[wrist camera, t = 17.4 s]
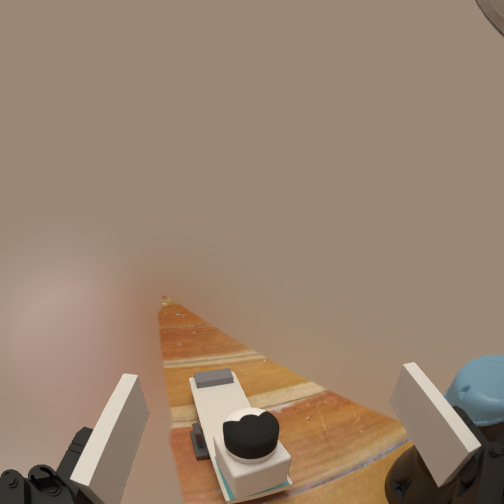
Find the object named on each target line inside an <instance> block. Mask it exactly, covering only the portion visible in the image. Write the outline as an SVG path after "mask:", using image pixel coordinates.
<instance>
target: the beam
mask: <svg viewBox="0 0 504 504" xmlns="http://www.w3.org/2000/svg"><path fill="white" fill-rule="evenodd" d="M189 380H190V386H191V390H192V394H193V398H194V402H195V406H196V410H197V413H198V417H199V421H200V424H201V428H202V431H203V435H204V438H205V442H206V445H207V448H208V451H209V455H210V458H211V461H212V464H213V467H214V470H215V473H216V476H217V479H218V482H219V485H220V488H221V490H222V493H223V496H224V498H225V501H226V504H234V503H239V502H243V501H248V500H252V499H256V498H259V497H263V496H267V495H270V494H274V493H277V492H280V491H283V490H287V489H290V488H292V485H293V483H292V481H291V479H290V478H289V476H288V475H287V480H286V482H285V483H283V484H280V485H278V486H275V487H272V488H270V489H267V490H264V491H261V492H258V493H255V494H252V495H249V496H246V497H243V498H240V499H236V498H235V497H234V495H233V493H232V492H231V490H230V488H229V486H228V484H227V482H226V480H225V478H224V476H223V474H222V472H221V470H220V468H219V466H218V464H217V459H216V453H215V447H214V441H213V436H214V435H217V434H221V433H223V423H224V420H225V419H226V418H227V416H228V415H230V414H231V413H233V412H235V411H237V410H239V409H243V408H251V406H250V404H249V402H248V400H247V398H246V396H245V394H244V392H243V390H242V388H241V386H240V384H239V382H238V379H237V377H236V375H235V373H234V371H233V372H231V371H230V369H229V368H226V369H220V370H213V371H206V372H199V373H194V378H189Z"/></svg>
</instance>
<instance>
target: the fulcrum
mask: <svg viewBox="0 0 504 504" xmlns="http://www.w3.org/2000/svg"><path fill="white" fill-rule="evenodd" d="M192 426H193V430H194V431H190V433H191V438H192V442H193V446H194V449H195V453H196V457H197V460H204V459H210V455H209V451H208V448H207V445H206V442H205V438H204V435H203V431H202V430H200V427H199V424H198V423H194V424H192Z"/></svg>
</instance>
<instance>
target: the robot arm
mask: <svg viewBox="0 0 504 504" xmlns="http://www.w3.org/2000/svg"><path fill="white" fill-rule="evenodd" d="M476 3H477V5H478V7H479V8H480V9H481V11H482V13H483V14H484V16H485V17H486V18H487V20H488V21H489V22H490V23H491V24H492V26H493V27H494V28H495V29H496V30H497V31H498V32H499V33H500V35H501V36H502V37H504V0H476ZM389 403H390V404H391V406H392V407H393V409H394V411H395V412H396V414H397V416H398V417H399V419H400V421H401V422H402V424H403V426H404V428H405V429H406V431H407V433H408V434H409V436H410V438H411V439H412V441H413V443H414V446H412V447H411V448H409V449H408V450H407V451H405V452H404V453H403V454H402V455H401V456H400V457H399V458H398V459H397V460H396V461H395V463H394V464H393V466H392V467H391V469H390V470H389V472H388V474H387V477H386V481H385V492H386V496H387V499H388V501H389V503H390V504H504V355H487V356H482V357H480V358H476V359H473V360H471V361H469V362H468V363H466V364H465V365H464V366H463V367H462V368H461V369H460V370H459V371H458V373H457V374H456V376H455V377H454V379H453V381H452V384H451V385H450V387H449V388H448V390H447V391H446V392H445V394H444V396H442V394H441V393H440V392H439V391H438V390H437V389H436V387H435V386H434V385H433V384H432V382H431V381H430V380H429V379H428V378H427V376H426V375H425V374H424V373H423V372H422V371H421V369H420V368H419V367H418V366H417V365H416V364H415V362H413V363H409V364H403V366H402V369H401V372H400V375H399V378H398V381H397V383H396V386H395V389H394V392H393V394H392V397H391V400H390V402H389ZM148 416H149V411H148V407H147V405H146V401H145V398H144V395H143V391H142V388H141V384H140V381H139V377H138V375H131V374H123V376H122V378H121V380H120V382H119V383H118V385H117V387H116V389H115V391H114V392H113V394H112V396H111V398H110V400H109V402H108V403H107V405H106V407H105V409H104V411H103V413H102V415H101V417H100V419H99V420H98V422H97V424H96V427H95V428H94V429H90V428H87V427H83V428H82V429H81V430H80V431H79V432H77V433H76V435H75V437H74V438H73V440H72V444H70V446H69V448H68V450H67V451H66V453H65V455H64V457H63V459H62V461H61V463H60V465H59V467H58V469H57V471H56V472H55V471H54V470H53V469H52V468H51V467H50V466H47V465H36V466H34V467H33V468H32V469H31V470H30V471H29V473H28V478H24V477H23V476H22V475H21V474H20V473H19V472H18V471H16V470H12V469H10V470H6V471H4V472H3V473H2V475H1V477H0V504H120V502H121V499H122V495H123V492H124V489H125V485H126V482H127V479H128V476H129V473H130V470H131V467H132V463H133V460H134V457H135V454H136V451H137V448H138V445H139V442H140V440H141V437H142V433H143V430H144V428H145V425H146V422H147V419H148Z"/></svg>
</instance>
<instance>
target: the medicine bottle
mask: <svg viewBox="0 0 504 504" xmlns="http://www.w3.org/2000/svg"><path fill="white" fill-rule="evenodd" d="M278 435H279V423H278V421H277V419H276V418H275V417H274V416H273V415H272V414H271V413H269V412H267V411H265V410H262V409H259V408H243V409H239V410H237V411H235V412H233V413H231V414H230V415H228V416H227V418H226V419H225V420H224V423H223V433H221V434H217V435H214V436H213V441H214V447H215V453H216V459H217V464H218V466H219V468H220V470H221V472H222V474H223V476H224V478H225V480H226V482H227V484H228V486H229V488H230V490H231V492H232V493H233V495H234V497H235V498H236V499H240V498H243V497H246V496H249V495H252V494H255V493H258V492H261V491H264V490H267V489H270V488H272V487H275V486H278V485H280V484H283V483H285V482H286V480H287V475H288V471H289V466H290V461H291V456H290V454H289V453H288V452H287V450H286V449H285V448H284V446H283V445H282V444H281V442H280V441H279V440H278Z"/></svg>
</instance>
